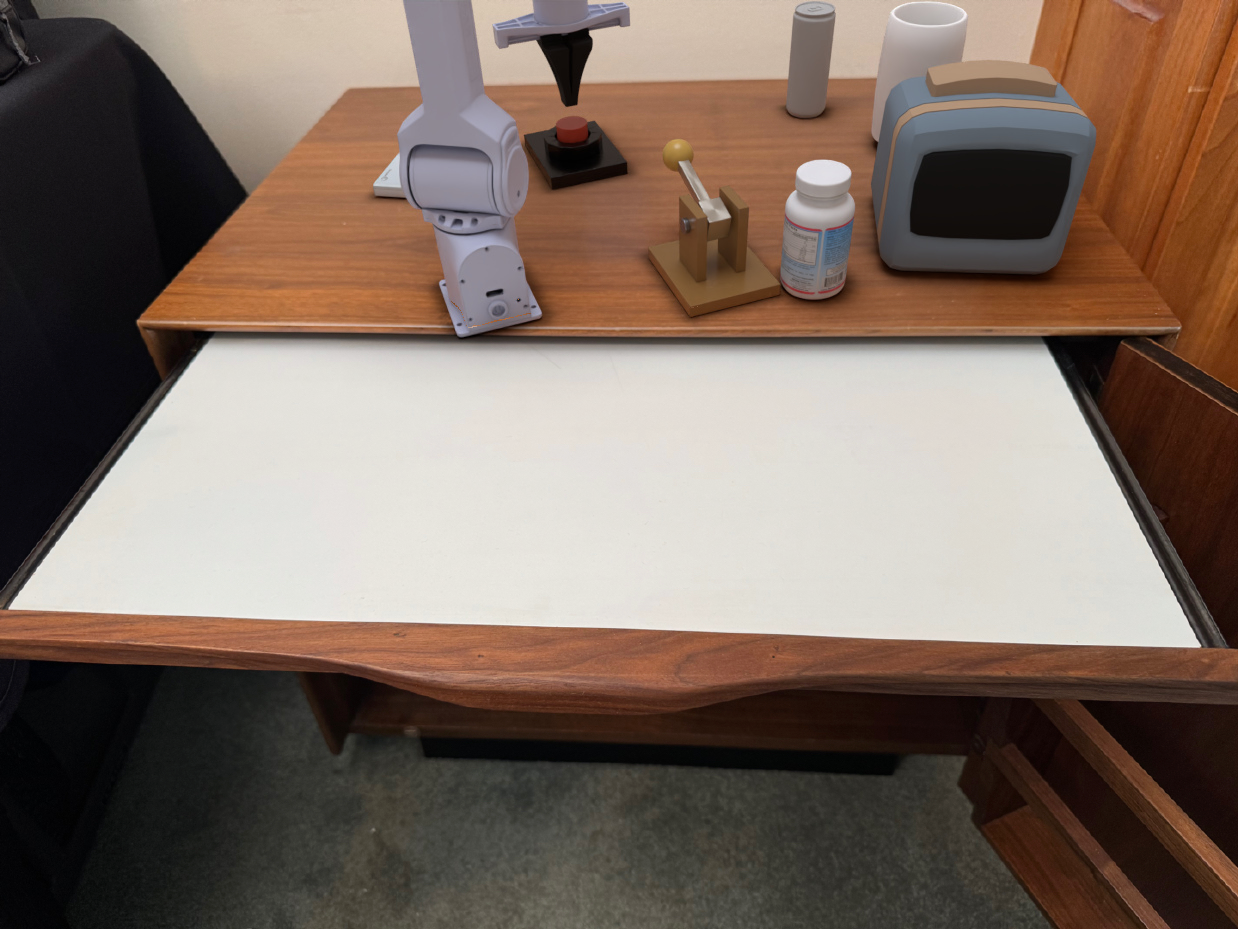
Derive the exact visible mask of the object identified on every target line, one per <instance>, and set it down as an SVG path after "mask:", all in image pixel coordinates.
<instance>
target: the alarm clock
mask: <svg viewBox="0 0 1238 929" xmlns="http://www.w3.org/2000/svg"><path fill="white" fill-rule="evenodd" d="M1096 143H1097V128H1096V126H1095V125H1094V123H1093V122H1092V121H1091V119H1090V118H1089V117H1088V115H1087V114H1086V113H1085V112H1084V110H1083V109H1082V107H1080V106H1079V105H1078V103H1077V102H1076V101H1075V100H1074V98H1073V97H1072V96H1071V95H1070V94H1069V92H1068V91H1067V90H1066V88H1065V87H1064V86H1063V85H1062V84H1061V83H1060V82H1058V81H1056V79H1055V78H1054V77H1053V76H1052V74H1051V73H1050V71H1049V70H1048V69H1047V68H1046V67H1044V66H1038V65H1035V64H1030V63H1026V62H1019V61H1013V60H1012V61H1011V60H1001V59H999V60H996V59H980V60H966V61H965V60H964V61H962V62H957V63H950V64H945V65H940V66H935V67H931V68H928V69H927V75H926V76H922V77H913V78H909V79H907V80H904V81H901V82H900V83H899V84H897V85H896V86H895V87H894V88H892V89H891V91H890V94H889V96H888V98H887V100H886V103H885V108H884V114H883V119H882V125H881V130H880V136H879V141H877V147H876V153H875V159H874V165H873V170H872V175H871V181H870V189H871V196H872V204H873V211H874V218H875V226H876V233H877V241H878V249H879V256H880V258H881V260H882V261H883V262H884V263H885V264H886V265H887V266H888V267H889V268H890V269H894V270H898V271H906V272H908V271H909V272H939V273H968V274H969V273H974V274H1000V275H1001V274H1005V275H1006V274H1007V275H1039V274H1043V273H1044V274H1045V273H1046V272H1048V271H1049V270H1051V269H1053V268H1054V267H1056V266H1057V264H1058V263H1059V262H1060V260H1061V258H1062V256H1063V252H1064V250H1065V246H1066V243H1067V240H1068V236H1069V233H1070V230H1071V226H1072V224H1073V219H1074V217H1075V213H1076V210H1077V206H1078V203H1079V200H1080V196H1081V194H1082V191H1083V188H1084V183H1085V180H1086V177H1087V174H1088V171H1089V167H1090V165H1091V162H1092V158H1093V154H1094V151H1095V148H1096Z"/></svg>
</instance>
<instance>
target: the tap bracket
mask: <svg viewBox="0 0 1238 929" xmlns="http://www.w3.org/2000/svg"><path fill="white" fill-rule="evenodd" d="M718 192H719V193H718V197H720V198H721V200H722V201H723V203H724V205H725V207H726V208H727V210H728V212H729V214H730V215H731V217H732V219H731V224H730V229H729V234H728V237H725V238H721V239H717V240H712V241H708V242H707V222H708V216H707V215H706V214H705V213H704V212H703V210H702V209H701V208H700V207H699V206H698V204H697V203H696V202H695V201H694V199H693V197H692V195H691V194H683V195H678V240H677V239H676V240H673V241H668V242H664V243H660V244H656V245H651V246H648V247H647V257H648V259H649V261H650V262H651V263H652V265H653V266H654V267H655V270H657V272H658V273H659V275H660V276H661V277H662V279H663V281H664V282H665V283H666V285H667V286H668V287H669V289H670V291H671V292H672V294H673V295H674V296H675V298H676V299H677V300H678V302H679V303H680V305H681V307H682V308H683V309H684V311H685V312H686V313H687V315H688V316H689V318H693V317H697V316H700V315H706V314H709V313H713V312H717V311H721V310H725V309H729V308H732V307H737V306H741V305H745V304H750V303H753V302H756V301H760V300H761V301H762V300H765V299H769V298H773V297H777V296H780V294H781V286H782V284H781V282H779V280H778V279H777V278H776V277H775V276H774V275H773V274H772V272H771V271H770V270H769V269H768V267H766V265H765V264H764V263H763V262H762V261H761V260H760V258H759V257H758V256H757V255H756V254H755V252H754V251H753V250H752V249H751V248H750V247H749V246H748V234H749V233H748V232H749V217H750V216H749V215H750V206H749V205H748V204H747V203H746V202H745V200H743V199H742V197H741V196H740V195H739V194H738V192H736V191H735V190H734V189H733V188H732V187H731V186H730V185H724V186H720V187H719V190H718ZM682 297H683V298H682ZM685 301H686V302H685ZM687 304H688V305H687ZM697 306H698V307H697ZM689 307H690V308H689ZM691 307H694V308H691Z"/></svg>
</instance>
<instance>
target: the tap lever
mask: <svg viewBox="0 0 1238 929" xmlns="http://www.w3.org/2000/svg"><path fill="white" fill-rule="evenodd" d="M661 156H662V162H663V164H664V165H665V167H666V168H667V169H668V170H670V171H672V172H675V173H679V175H680V177H681V179H682V181H683V182H684V184H685V186H686V188H687V190H688V192H689V193H690V194H689V195H690V196H691V197H692V199H693V200H694V201H695V202H696V203H697V204H698V206H699V207H700V208H701V209H702V210H703V212H704V213H705V214H706V215H707V216H708V222H707V242H708V241H712V240H717V239H721V238H725V237H728V234H729V229H730V224H731V219H732V217H731V215H730V214H729V212H728V210H727V208H726V207H725V205H724V203H723V201H722V200H721V198H720V197H719V196H718V197H713V198H711V197H710V195H709V194H708V191H707V190H706V188H705V186H704V184H703V183H702V181H701V179H700V177H699V176H698V173H697V172H696V170H695V168H694V167H693V165H692V163H693V161H694V156H695V155H694V150H693V147H692V145H691V144H690V142H688V141H687V140H686V139H682V138H674V139H672V140H670V141H668V142H666V144H665V145H664V147H663V150H662V154H661Z"/></svg>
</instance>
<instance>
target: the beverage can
mask: <svg viewBox="0 0 1238 929" xmlns="http://www.w3.org/2000/svg"><path fill="white" fill-rule="evenodd" d="M835 24H836V6H835V5H834V4H833V3H830V2H827V1H821V0H820V1H819V0H812V1H809V0H808V1H804V2H800V3H798V4H797V5H796V6H795V7H794V12H793V15H792V25H791V26H792V27H791V38H790V39H791V40H790V52H789V64H788V76H787V78H788V79H787V88H786V100H785V101H786V102H785V108H786V111H787V112H788V113H789V114H790V115H791V116H793V117H795V118H800V119H812V118H816V117H818V116H820V115H821V114H822V113H823V112H824V110H825V109H826V104H827V96H828V87H829V86H828V85H829V77H830V69H831V60H832V53H833V52H832V51H833V44H834V43H833V42H834V34H835Z"/></svg>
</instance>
